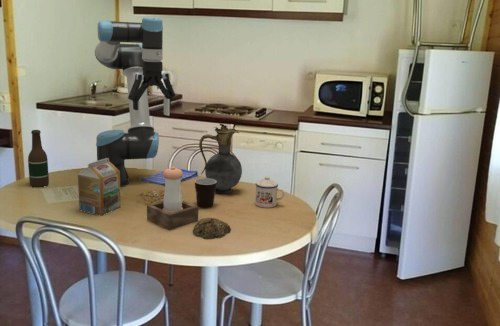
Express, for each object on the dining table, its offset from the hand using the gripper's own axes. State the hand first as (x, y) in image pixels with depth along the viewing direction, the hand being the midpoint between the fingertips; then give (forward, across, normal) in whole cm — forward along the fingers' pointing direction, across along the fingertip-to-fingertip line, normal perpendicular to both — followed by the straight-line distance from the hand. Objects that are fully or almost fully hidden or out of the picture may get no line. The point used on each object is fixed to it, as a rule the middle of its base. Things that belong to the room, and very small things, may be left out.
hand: (152, 116), depth 185 cm
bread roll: (+34, -5, -39) cm, 52 cm away
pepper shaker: (+33, -8, -23) cm, 41 cm away
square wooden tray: (+34, -8, -23) cm, 41 cm away
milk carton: (+34, -21, +4) cm, 40 cm away
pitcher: (+34, +29, -9) cm, 46 cm away
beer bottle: (+35, -25, +46) cm, 63 cm away
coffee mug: (+34, +13, -18) cm, 41 cm away
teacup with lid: (+34, +32, -35) cm, 58 cm away
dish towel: (+35, +25, +20) cm, 48 cm away
